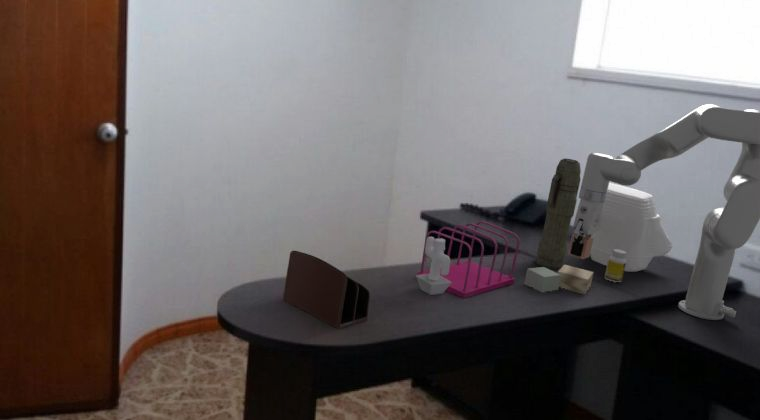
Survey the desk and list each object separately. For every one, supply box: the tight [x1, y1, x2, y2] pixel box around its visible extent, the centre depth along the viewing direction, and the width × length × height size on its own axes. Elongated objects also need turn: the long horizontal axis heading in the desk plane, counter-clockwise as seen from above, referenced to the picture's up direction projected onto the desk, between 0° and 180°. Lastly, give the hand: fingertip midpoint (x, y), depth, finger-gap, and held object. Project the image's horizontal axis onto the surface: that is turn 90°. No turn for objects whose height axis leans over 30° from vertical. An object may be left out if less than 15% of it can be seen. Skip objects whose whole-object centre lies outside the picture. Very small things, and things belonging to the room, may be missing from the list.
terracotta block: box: [567, 234, 594, 260], centre depth 225 cm, size 5×5×6 cm
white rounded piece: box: [590, 181, 673, 273], centre depth 254 cm, size 21×27×26 cm
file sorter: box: [416, 220, 520, 299], centre depth 217 cm, size 17×25×16 cm
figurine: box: [415, 236, 452, 296], centre depth 205 cm, size 7×9×15 cm
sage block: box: [524, 266, 561, 293], centre depth 223 cm, size 7×7×5 cm
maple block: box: [557, 264, 595, 294], centre depth 228 cm, size 9×9×5 cm
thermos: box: [535, 158, 582, 270], centre depth 243 cm, size 9×12×35 cm
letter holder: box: [282, 250, 371, 329], centre depth 181 cm, size 10×20×14 cm, turn 48°
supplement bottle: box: [604, 249, 626, 283], centre depth 239 cm, size 5×5×10 cm
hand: (579, 253), depth 226 cm, fingers closed on terracotta block, 5 cm apart
